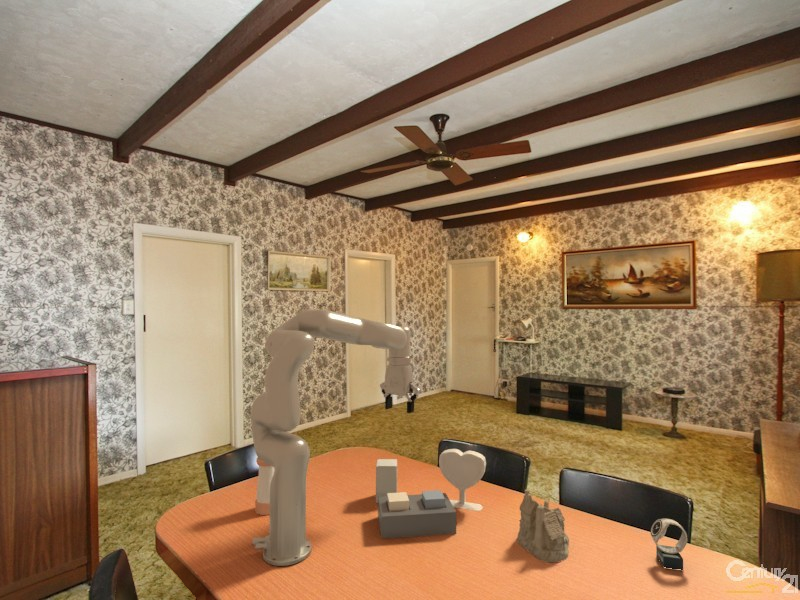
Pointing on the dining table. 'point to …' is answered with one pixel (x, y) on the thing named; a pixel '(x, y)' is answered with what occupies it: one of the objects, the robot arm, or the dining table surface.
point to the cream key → (397, 501)
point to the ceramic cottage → (542, 530)
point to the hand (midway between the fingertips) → (399, 410)
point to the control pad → (416, 519)
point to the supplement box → (386, 477)
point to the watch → (667, 553)
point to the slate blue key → (433, 499)
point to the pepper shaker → (263, 488)
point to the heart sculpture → (462, 473)
